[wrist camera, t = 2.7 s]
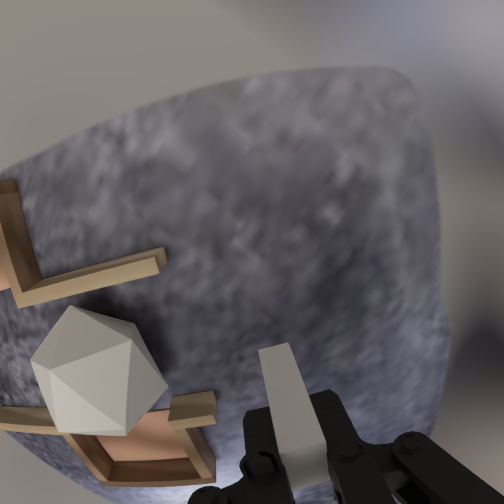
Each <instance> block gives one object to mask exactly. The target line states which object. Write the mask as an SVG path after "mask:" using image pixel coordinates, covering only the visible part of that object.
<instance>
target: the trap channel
mask: <svg viewBox="0 0 504 504" xmlns="http://www.w3.org/2000/svg"><path fill="white" fill-rule="evenodd" d="M167 261H168V258H167V255H166V252H165V248H164V246H162V247H159V248H155V249H151V250H147V251H144V252H140V253H136V254H132V255H129V256H125V257H121V258H118V259H114V260H110V261H107V262H103V263H100V264H96V265H92V266H89V267H85V268H82V269H78V270H75V271H71V272H68V273H64V274H61V275H57V276H54V277H51V278H47V279H44V280H42V278H41V275H40V272H39V269H38V266H37V263H36V259H35V256H34V253H33V250H32V246H31V243H30V239H29V236H28V232H27V228H26V224H25V220H24V216H23V212H22V208H21V203H20V199H19V194H18V189H17V184H16V180H5V181H0V291H1V290H4V289H7V288H10V287H11V290H12V293H13V296H14V298H15V301H16V303H17V306H18V309H19V308H23V307H27V306H31V305H35V304H39V303H43V302H47V301H51V300H55V299H59V298H63V297H67V296H71V295H75V294H79V293H83V292H87V291H91V290H95V289H99V288H103V287H107V286H111V285H115V284H119V283H123V282H127V281H131V280H135V279H139V278H143V277H147V276H151V275H155V274H159V273H160V272H161V270H162V269H163V267H164V266H165V264H166V263H167ZM212 424H217V399H216V397H215V394H214V392H213V390H212V391H206V392H201V393H195V394H189V395H183V396H177V397H172V400H171V406H170V409H163V410H155V411H147V413H146V414H145V415H144V416H143V417H142V418H141V419H140V421H139V422H138V423H137V424H136V425H135V426H134V427H133V429H132V430H131V431H130V432H129V433H128V434H127V435H126V436H106V435H86V434H73V433H62V432H58V430H57V428H56V426H55V423H54V421H53V419H52V417H51V414H50V412H49V410H48V407H5V406H2V404H1V403H0V429H1V430H8V431H17V432H27V433H40V434H57V435H63V436H64V438H65V439H66V440H67V442H68V443H69V444H70V446H71V447H72V448H73V450H74V451H75V452H76V453H77V455H78V456H79V457H80V458H81V460H82V461H83V462H84V463H85V464H86V466H87V467H88V468H89V469H90V470H91V471H92V473H93V474H94V475H95V476H96V477H97V478H98V479H99V480H100V482H101V483H102V484H103V485H104V486H113V487H169V486H186V485H198V484H208V483H216V459H215V457H214V456H213V454H212V452H211V450H210V448H209V446H208V444H207V442H206V440H205V439H204V437H203V435H202V433H201V431H200V429H199V426H206V425H212ZM95 436H96V437H95ZM103 447H104V448H103ZM106 451H107V452H106ZM113 460H114V461H113Z"/></svg>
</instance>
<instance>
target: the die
mask: <svg viewBox="0 0 504 504" xmlns="http://www.w3.org/2000/svg"><path fill="white" fill-rule="evenodd" d="M30 361H31V364H32V367H33V370H34V373H35V376H36V379H37V382H38V384H39V387H40V390H41V392H42V395H43V397H44V400H45V402H46V405H47V407H48V410H49V412H50V414H51V417H52V419H53V421H54V423H55V426H56V428H57V430H58V432H62V433H73V434H86V435H106V436H126V435H127V434H128V433H129V432H130V431H131V430H132V429H133V427H134V426H135V425H136V424H137V423H138V422H139V421H140V419H141V418H142V417H143V416H144V415H145V414H146V413H147V411H148V410H149V409H150V408H151V407H152V406H153V405H154V403H155V402H156V401H157V400H158V399H159V398H160V397H161V395H162V394H163V393H164V392H165V391H166V390H167V388H168V385H167V383H166V382H165V380H164V378H163V376H162V375H161V373H160V371H159V369H158V367H157V366H156V364H155V362H154V360H153V358H152V356H151V354H150V353H149V351H148V349H147V347H146V345H145V343H144V341H143V339H142V337H141V335H140V333H139V331H138V329H137V327H136V325H135V323H132V322H128V321H124V320H120V319H116V318H113V317H109V316H106V315H102V314H99V313H95V312H92V311H88V310H85V309H82V308H79V307H75V306H72V305H69V307H68V308H67V309H66V311H65V312H64V313H63V315H62V316H61V317H60V319H59V320H58V321H57V323H56V324H55V325H54V327H53V328H52V329H51V331H50V332H49V334H48V335H47V336H46V338H45V339H44V341H43V342H42V344H41V345H40V346H39V348H38V349H37V351H36V352H35V354H34V355H33V357H32V358H31V360H30Z"/></svg>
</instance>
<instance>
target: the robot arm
mask: <svg viewBox="0 0 504 504" xmlns="http://www.w3.org/2000/svg"><path fill="white" fill-rule="evenodd" d="M258 352H259V357H260V362H261V367H262V372H263V377H264V382H265V387H266V392H267V397H268V402H269V406H268V407H263V408H259V409H254V410H250V411H247V412H246V414H245V416H244V418H243V429H244V438H245V449H246V455H245V456H244V457H243V458H242V460H241V461H240V466H239V468H240V470H241V472H242V474H243V477H242V478H241V479H240V480H239V481H238V482H236V483H234V484H232V485H230V486H227V487H225V488H222V489H220V488H219V487H214V486H205V487H202V488H199V489H197V490H196V491H195V492H193V493H192V495H191V497H190V498H189V501H188V503H187V504H295V501H294V498H293V493H292V491H295V490H299V489H303V488H307V487H311V486H314V485H318V484H322V483H325V482H328V481H332V484H333V489H334V499H335V500H337V503H338V504H396V502H395V500H394V498H393V496H392V494H393V495H394V496H395V497H396V499H397V500H398V501H399V502H400V503H401V504H504V496H503V495H502V494H500V493H499V492H498V491H496V490H495V489H494V488H492V487H491V486H489V485H488V484H487V483H486V482H484V481H483V480H481V479H480V478H479V477H478V476H477V475H475V474H474V473H472V472H471V471H470V470H469V469H467V468H466V467H465V466H463V465H462V464H461V463H460V462H459V461H457V460H456V459H455V458H453V457H452V456H451V455H450V454H448V453H447V452H446V451H445V450H443V449H442V448H441V447H440V446H438V445H437V444H436V443H434V442H433V441H432V440H431V439H430V438H428V437H427V436H426V435H424V434H422V433H420V432H415V431H411V432H406V433H404V434H401V435H399V436H398V437H397V438H396V439H395V440H394V443H388V444H378V445H374V444H369V443H366V442H364V441H363V440H361V439H360V438H359V436H358V435H357V433H356V430H355V428H354V426H353V424H352V422H351V420H350V418H349V416H348V414H347V412H346V411H345V408H344V406H343V405H342V402H341V400H340V398H339V396H338V395H337V394H336V393H334V392H333V391H331V390H330V389H328V390H325V391H322V392H318V393H315V394H311V395H308V393H307V390H306V388H305V385H304V382H303V380H302V377H301V374H300V372H299V369H298V366H297V364H296V361H295V359H294V356H293V353H292V351H291V348H290V345H289V343H288V342H287V343H283V344H280V345H276V346H272V347H268V348H264V349H259V350H258ZM330 478H331V479H330ZM391 493H392V494H391Z"/></svg>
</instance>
